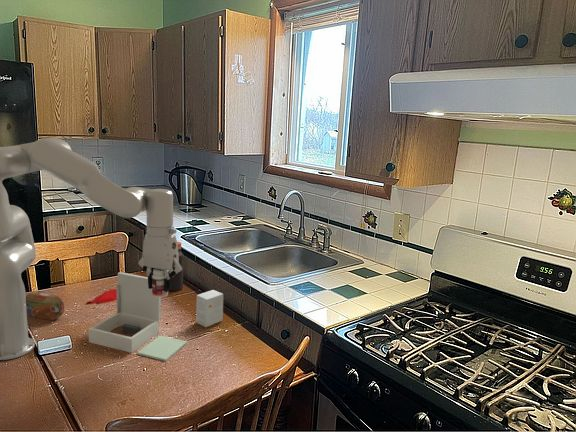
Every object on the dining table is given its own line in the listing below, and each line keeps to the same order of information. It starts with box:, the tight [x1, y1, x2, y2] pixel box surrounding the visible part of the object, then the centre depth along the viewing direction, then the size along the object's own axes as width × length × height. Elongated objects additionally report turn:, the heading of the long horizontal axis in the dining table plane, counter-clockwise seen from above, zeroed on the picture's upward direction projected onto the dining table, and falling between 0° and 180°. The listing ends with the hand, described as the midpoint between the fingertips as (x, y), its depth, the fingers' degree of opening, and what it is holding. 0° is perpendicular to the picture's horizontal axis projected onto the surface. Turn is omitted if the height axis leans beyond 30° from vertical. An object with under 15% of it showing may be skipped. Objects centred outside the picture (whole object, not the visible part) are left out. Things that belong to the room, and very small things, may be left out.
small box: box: [195, 289, 224, 328], centre depth 157 cm, size 8×6×10 cm
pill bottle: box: [152, 268, 169, 299], centre depth 133 cm, size 5×5×8 cm
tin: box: [26, 292, 65, 321], centre depth 152 cm, size 15×3×8 cm, turn 76°
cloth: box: [84, 288, 117, 306], centre depth 176 cm, size 26×14×2 cm, turn 127°
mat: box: [137, 335, 188, 362], centre depth 137 cm, size 12×10×1 cm
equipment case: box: [88, 271, 162, 354], centre depth 141 cm, size 15×16×18 cm
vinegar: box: [169, 241, 184, 292], centre depth 184 cm, size 7×7×20 cm
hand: (160, 288), depth 134 cm, fingers closed on pill bottle, 4 cm apart
